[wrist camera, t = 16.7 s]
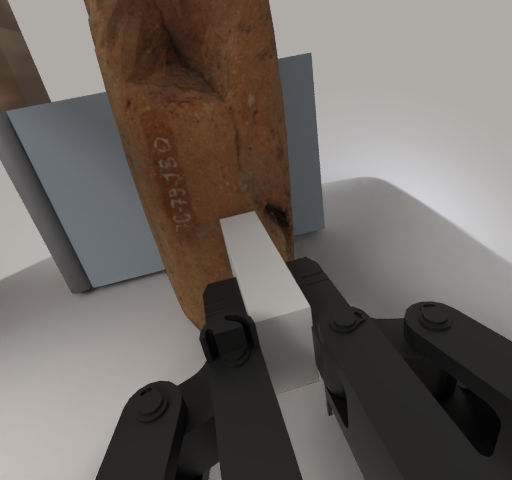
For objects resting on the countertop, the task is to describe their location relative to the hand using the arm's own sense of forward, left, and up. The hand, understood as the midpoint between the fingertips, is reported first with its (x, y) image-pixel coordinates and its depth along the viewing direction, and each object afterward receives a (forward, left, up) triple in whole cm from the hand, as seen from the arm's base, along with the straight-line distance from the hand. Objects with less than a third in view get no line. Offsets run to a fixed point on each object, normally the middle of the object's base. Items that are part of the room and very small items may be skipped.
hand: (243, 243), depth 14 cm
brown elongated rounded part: (0, +6, -7) cm, 9 cm away
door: (-3, +13, -6) cm, 14 cm away
